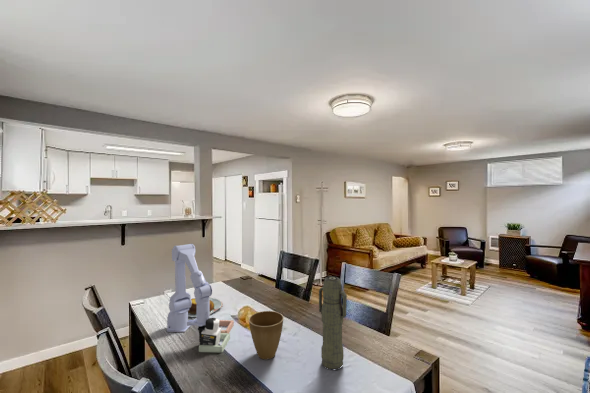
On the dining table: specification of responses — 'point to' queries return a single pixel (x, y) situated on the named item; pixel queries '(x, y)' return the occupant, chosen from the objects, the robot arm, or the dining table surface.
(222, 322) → the terracotta bay
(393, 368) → the dining table surface
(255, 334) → the plant pot
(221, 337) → the sage bay
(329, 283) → the thermos
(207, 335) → the medicine bottle
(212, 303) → the food on plate
